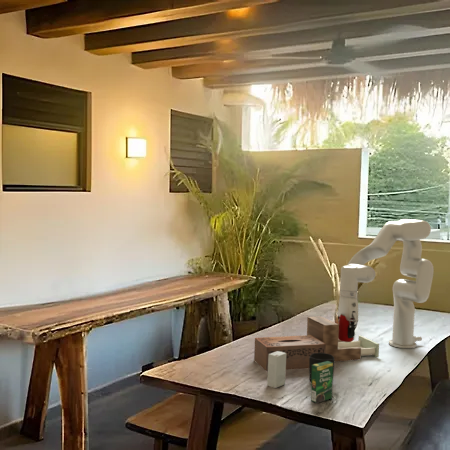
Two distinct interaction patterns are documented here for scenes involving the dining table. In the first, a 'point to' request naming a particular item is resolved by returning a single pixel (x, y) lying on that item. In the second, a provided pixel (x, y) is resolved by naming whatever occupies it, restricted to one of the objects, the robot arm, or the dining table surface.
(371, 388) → the dining table surface
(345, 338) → the beverage can
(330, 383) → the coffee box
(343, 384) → the dining table surface
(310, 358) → the pen holder
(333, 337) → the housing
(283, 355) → the skincare box
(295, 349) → the tissue box cover
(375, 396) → the dining table surface
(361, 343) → the tray
